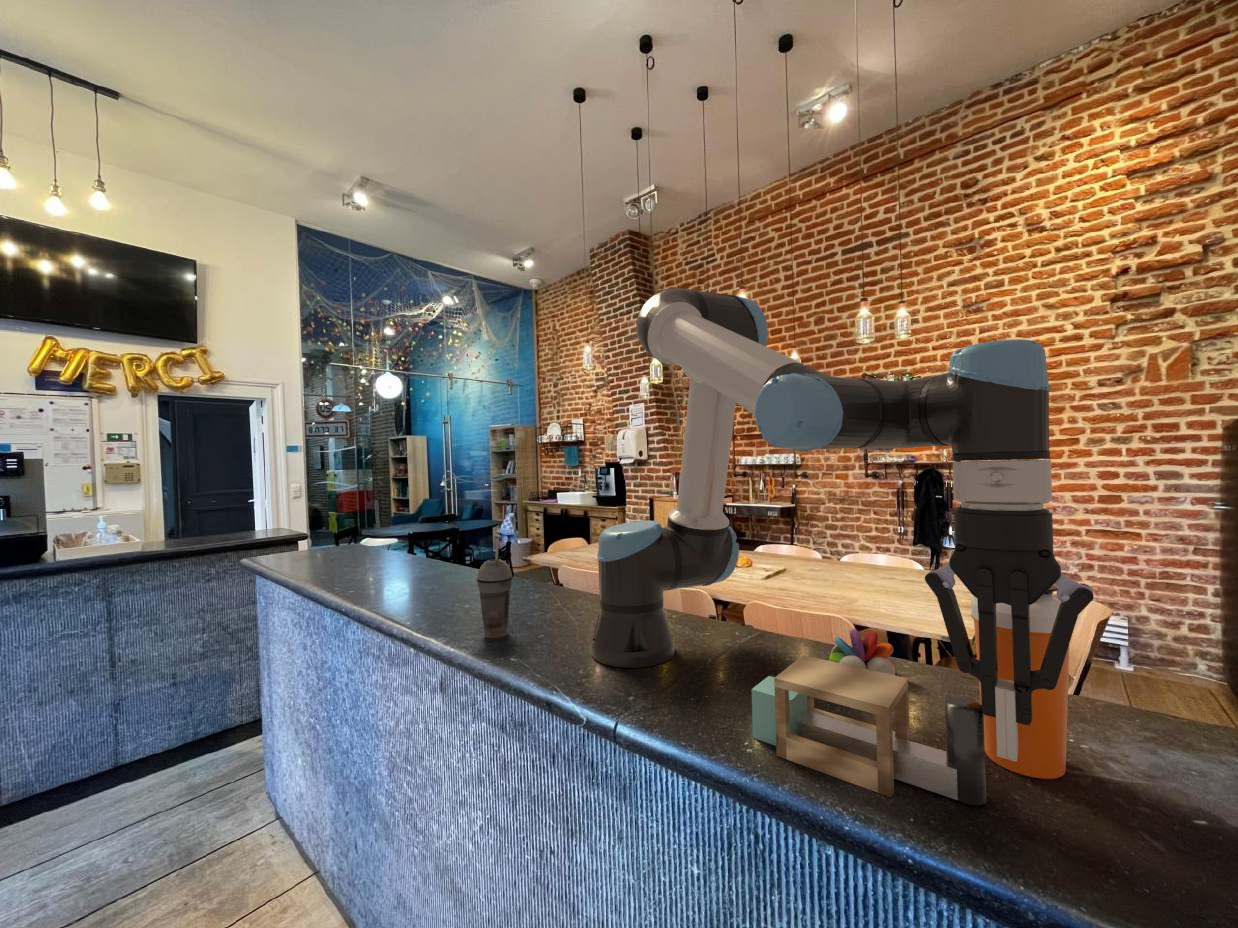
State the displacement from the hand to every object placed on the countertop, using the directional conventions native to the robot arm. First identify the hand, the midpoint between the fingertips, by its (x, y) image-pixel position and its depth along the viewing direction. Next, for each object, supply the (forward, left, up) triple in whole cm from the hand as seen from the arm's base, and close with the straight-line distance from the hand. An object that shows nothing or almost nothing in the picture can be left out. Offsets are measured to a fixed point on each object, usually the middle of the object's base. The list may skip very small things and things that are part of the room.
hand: (1007, 752), depth 49 cm
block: (-23, 0, -6) cm, 23 cm away
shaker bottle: (+1, +11, -6) cm, 13 cm away
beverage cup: (-84, +2, -6) cm, 84 cm away
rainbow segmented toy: (-20, +25, -6) cm, 32 cm away
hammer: (-12, 0, -6) cm, 13 cm away
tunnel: (-15, 0, -6) cm, 16 cm away
